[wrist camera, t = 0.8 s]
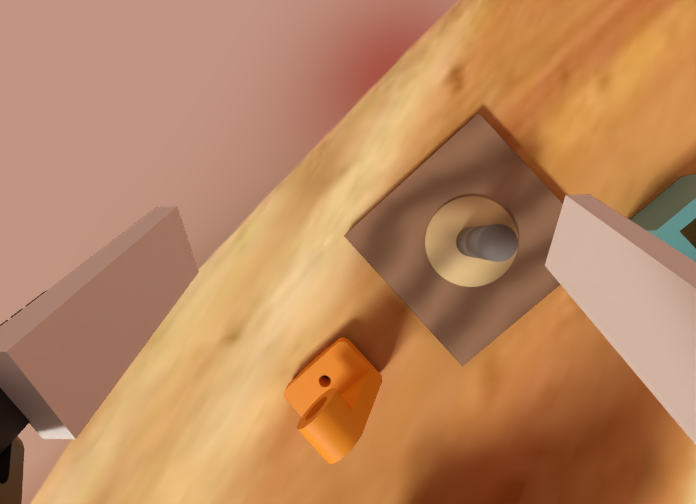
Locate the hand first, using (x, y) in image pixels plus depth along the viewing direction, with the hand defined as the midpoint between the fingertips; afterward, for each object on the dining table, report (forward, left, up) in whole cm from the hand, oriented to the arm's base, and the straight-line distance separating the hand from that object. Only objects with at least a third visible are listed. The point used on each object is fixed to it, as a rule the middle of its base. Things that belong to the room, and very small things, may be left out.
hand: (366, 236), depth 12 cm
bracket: (-11, +16, -32) cm, 38 cm away
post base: (-9, -9, -32) cm, 34 cm away
